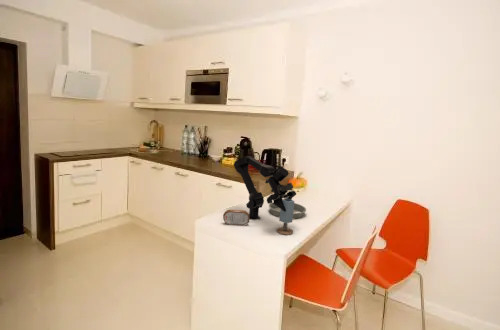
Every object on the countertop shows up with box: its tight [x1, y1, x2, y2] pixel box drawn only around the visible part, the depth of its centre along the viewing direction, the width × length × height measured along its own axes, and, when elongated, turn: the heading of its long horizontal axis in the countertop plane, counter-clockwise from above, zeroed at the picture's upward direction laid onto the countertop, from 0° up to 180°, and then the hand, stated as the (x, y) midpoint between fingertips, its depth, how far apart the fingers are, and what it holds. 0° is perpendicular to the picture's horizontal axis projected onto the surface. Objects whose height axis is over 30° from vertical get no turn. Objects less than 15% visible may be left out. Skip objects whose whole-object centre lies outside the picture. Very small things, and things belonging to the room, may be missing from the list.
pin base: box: [276, 223, 294, 236], centre depth 158 cm, size 9×9×5 cm
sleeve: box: [278, 198, 295, 225], centre depth 157 cm, size 5×5×12 cm
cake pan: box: [268, 201, 307, 220], centre depth 190 cm, size 25×25×4 cm
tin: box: [222, 209, 251, 226], centre depth 163 cm, size 15×3×8 cm, turn 92°
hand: (288, 210), depth 156 cm, fingers closed on sleeve, 5 cm apart
